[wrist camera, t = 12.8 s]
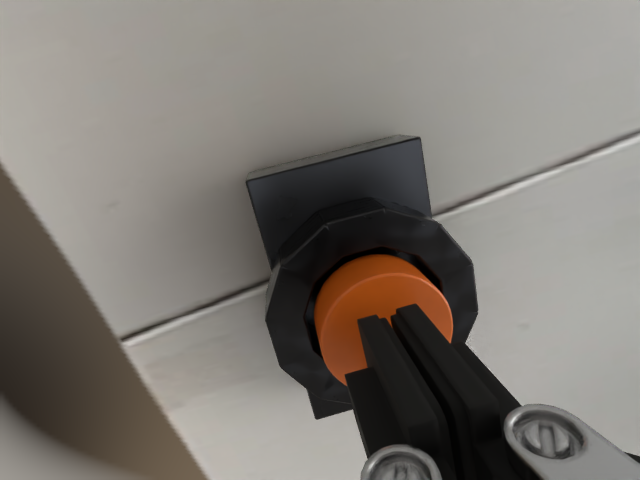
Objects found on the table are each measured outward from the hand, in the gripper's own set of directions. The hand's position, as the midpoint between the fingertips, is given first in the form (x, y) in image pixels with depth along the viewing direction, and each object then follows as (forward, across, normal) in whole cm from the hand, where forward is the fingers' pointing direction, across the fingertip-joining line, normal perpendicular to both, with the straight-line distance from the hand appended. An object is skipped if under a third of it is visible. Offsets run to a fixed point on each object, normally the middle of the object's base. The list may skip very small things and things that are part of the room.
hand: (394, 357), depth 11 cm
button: (+2, 0, 0) cm, 2 cm away
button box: (+6, 0, 0) cm, 6 cm away
